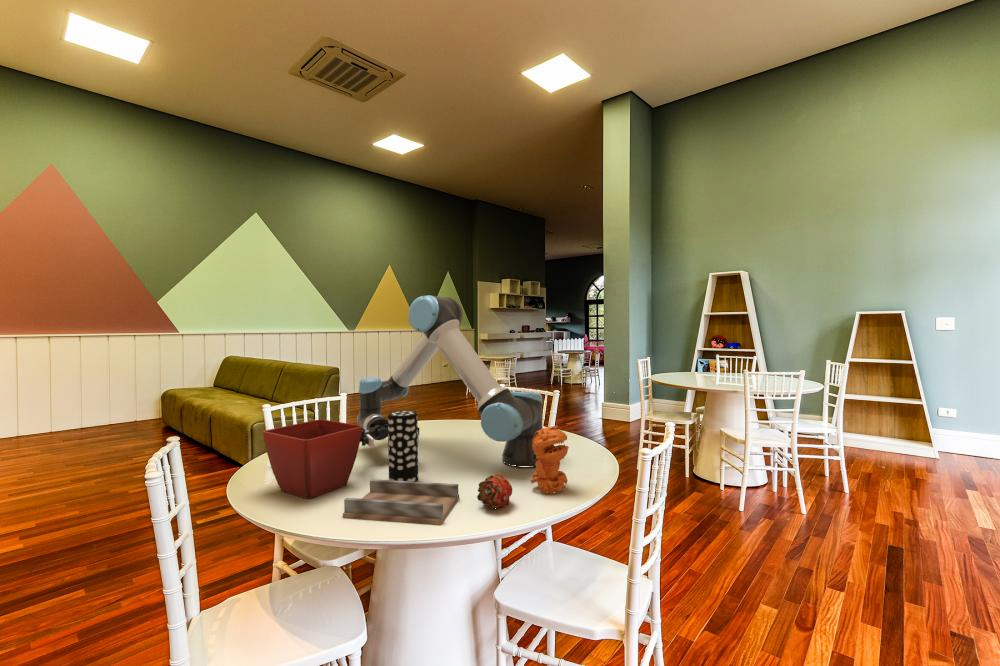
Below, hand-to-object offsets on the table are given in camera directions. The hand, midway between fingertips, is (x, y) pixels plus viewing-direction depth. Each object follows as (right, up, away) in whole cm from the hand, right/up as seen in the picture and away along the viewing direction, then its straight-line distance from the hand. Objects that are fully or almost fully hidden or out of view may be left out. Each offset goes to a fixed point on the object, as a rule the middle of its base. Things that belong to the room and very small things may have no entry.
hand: (395, 440), depth 135 cm
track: (+7, -11, -23) cm, 26 cm away
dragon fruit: (+30, -11, -22) cm, 39 cm away
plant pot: (-21, -11, -9) cm, 25 cm away
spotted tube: (+3, -11, -5) cm, 13 cm away
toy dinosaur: (+45, -11, -11) cm, 48 cm away
